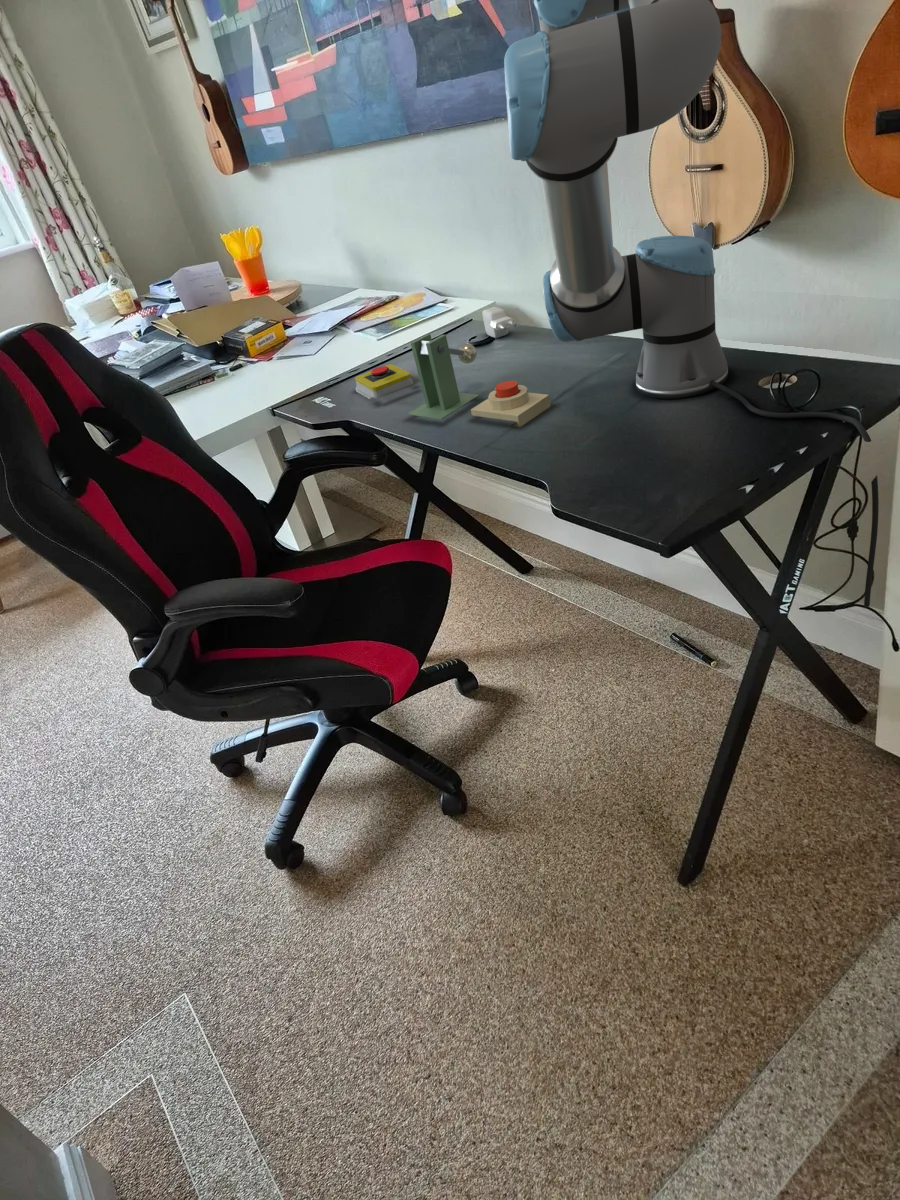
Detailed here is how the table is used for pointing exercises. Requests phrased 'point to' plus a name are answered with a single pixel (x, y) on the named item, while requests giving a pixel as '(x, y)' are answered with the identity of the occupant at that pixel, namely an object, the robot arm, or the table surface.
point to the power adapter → (497, 322)
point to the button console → (513, 406)
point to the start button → (507, 389)
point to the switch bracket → (437, 379)
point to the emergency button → (382, 381)
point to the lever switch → (456, 352)
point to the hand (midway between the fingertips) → (585, 225)
